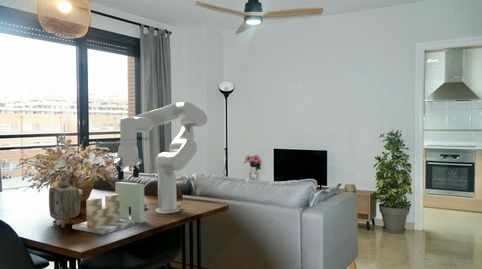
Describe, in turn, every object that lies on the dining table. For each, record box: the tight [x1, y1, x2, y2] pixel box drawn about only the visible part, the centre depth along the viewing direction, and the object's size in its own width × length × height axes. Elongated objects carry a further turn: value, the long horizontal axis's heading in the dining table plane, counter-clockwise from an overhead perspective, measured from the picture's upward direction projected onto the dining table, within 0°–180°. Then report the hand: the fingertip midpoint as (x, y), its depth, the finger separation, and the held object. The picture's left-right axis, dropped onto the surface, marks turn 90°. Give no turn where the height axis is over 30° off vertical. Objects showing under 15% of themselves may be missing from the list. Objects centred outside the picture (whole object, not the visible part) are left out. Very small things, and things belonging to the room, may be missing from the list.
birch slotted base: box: [71, 193, 136, 235], centre depth 176 cm, size 18×20×14 cm
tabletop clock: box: [48, 170, 81, 229], centre depth 180 cm, size 14×9×25 cm, turn 45°
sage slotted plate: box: [114, 181, 146, 224], centre depth 187 cm, size 3×16×18 cm, turn 60°
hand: (128, 178), depth 186 cm, fingers open, 9 cm apart
